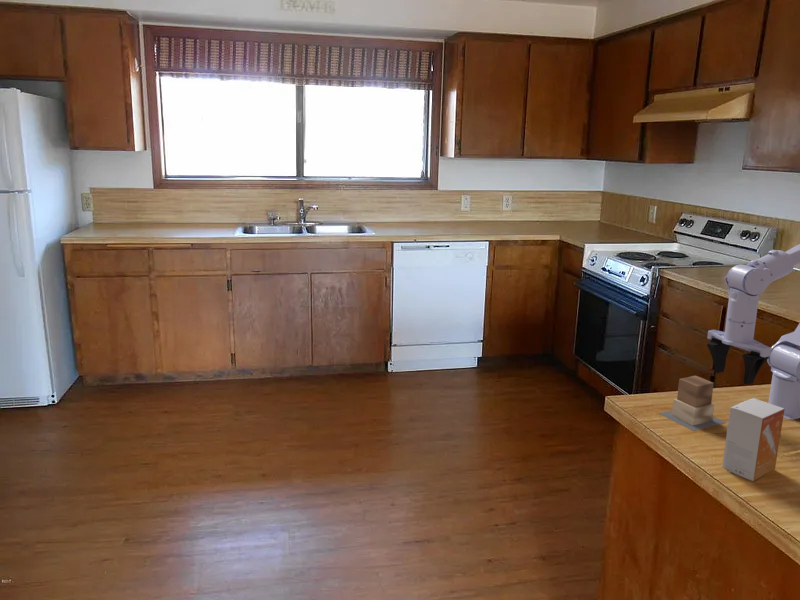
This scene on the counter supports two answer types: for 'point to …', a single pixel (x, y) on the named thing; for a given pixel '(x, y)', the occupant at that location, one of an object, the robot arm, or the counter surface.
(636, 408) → the counter surface
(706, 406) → the maple block
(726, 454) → the small box
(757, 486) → the counter surface
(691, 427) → the mat
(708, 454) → the counter surface
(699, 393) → the walnut block
